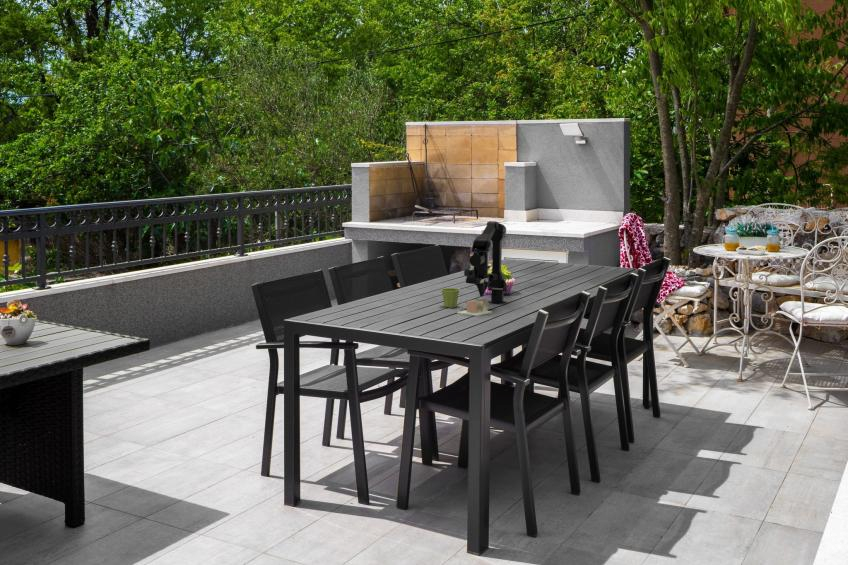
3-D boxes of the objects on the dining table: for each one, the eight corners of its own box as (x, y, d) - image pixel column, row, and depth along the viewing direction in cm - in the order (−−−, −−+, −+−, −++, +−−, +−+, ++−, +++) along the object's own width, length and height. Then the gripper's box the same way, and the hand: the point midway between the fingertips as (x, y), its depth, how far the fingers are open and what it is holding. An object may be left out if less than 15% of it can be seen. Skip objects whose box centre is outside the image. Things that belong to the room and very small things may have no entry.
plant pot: (444, 308, 460) (444, 291, 459) (438, 305, 469) (438, 288, 468) (462, 308, 463) (462, 290, 461) (456, 304, 472) (456, 287, 470)
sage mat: (471, 309, 458) (471, 308, 458) (492, 312, 450) (492, 311, 450) (456, 313, 449) (456, 312, 449) (477, 315, 441) (477, 314, 441)
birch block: (479, 298, 456) (466, 301, 448) (487, 299, 453) (475, 302, 445) (479, 309, 457) (466, 311, 449) (487, 310, 453) (475, 313, 446)
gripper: (479, 260, 463) (479, 292, 465) (456, 264, 448) (456, 297, 451) (498, 262, 456) (498, 294, 458) (475, 266, 441) (475, 299, 444)
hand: (481, 296), depth 453 cm, fingers closed
